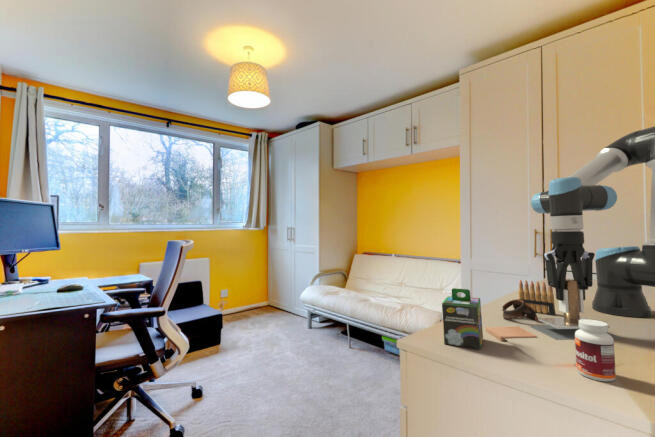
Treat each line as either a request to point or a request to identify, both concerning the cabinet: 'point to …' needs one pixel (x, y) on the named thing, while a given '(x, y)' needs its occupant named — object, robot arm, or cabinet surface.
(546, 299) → the ammunition clip
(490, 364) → the cabinet surface
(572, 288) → the turner
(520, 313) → the brown sandal
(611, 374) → the pill bottle
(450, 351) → the cabinet surface
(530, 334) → the tile
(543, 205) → the robot arm
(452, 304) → the chalk box
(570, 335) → the mat
